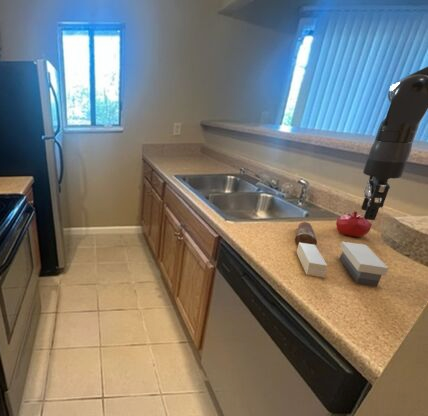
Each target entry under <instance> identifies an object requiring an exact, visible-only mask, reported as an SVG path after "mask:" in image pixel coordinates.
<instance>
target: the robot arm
mask: <svg viewBox="0 0 428 416" xmlns="http://www.w3.org/2000/svg"><path fill="white" fill-rule="evenodd" d="M387 99H388V101H389V103H390V104H389V106H388V110H387V112H386V116H385V117H384V119H382V121H381V122H380V124H379V126H378V128H377V132H376V135H375V138H374V141H373V143H372V145H371V147H370V150H369V153H368V156H367V159H366V162H365V165H364V168H363V171H362V173H363V174H364V175H365V176H369V178H368V180H367V182H366V186H365V189H364V192H363V193H364V195H363V196H364V198H363V202H362V204H361V207H360V209H361V210H362V211H365V213H364V214H363V215H364V216H363V217H364V218H365V219H367V220H368V221H375V220H376V218H377V215H378V213H379V209H381V208H383V207H384V204H385V201H386V199H387V195H388V193H389V190H390V189H391V185H390V184H389V179H400V178H401V177H402V176H403V174H404V171H405V168H406V166H407V163H408V161H409V158H410V155H411V153H412V148H413V143H414V141H415V138H416V136H417V132H418V131H419V130H418V129H419V126H420V123H421V121H422V119H423V118H424V116H425V115H426V113H427V111H428V66H426V67H424V68H421V69H419V70H417V71H415V72H413V73H411V74H409V75H407V76H405V77H402V78H400V79H399V80H398V81H396V82H394V84H392V85H391V86H390V88H389V90H388V91H387Z"/></svg>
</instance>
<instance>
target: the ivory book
mask: <svg viewBox="0 0 428 416" xmlns="http://www.w3.org/2000/svg"><path fill="white" fill-rule="evenodd" d="M339 249H340V250H341V252H343V253H344V254H345V255H346V256H347V258H348V259H349V260H350V262H351V263H352V264H353V265H354V267H355V268H356V269H357V271H361V272H367V273H373V274H379V275H382V276H386V275H387V273H388V270H389V267H388V266H387V265H386V264H385V263H384V262H383V261H382V260H381V258H380V257H378V256H377V254H375V252H374V251H373V250H371V248H369V246H368V245H367V244H362V243H357V242H356V243H355V242H348V241H341V244H340V247H339Z"/></svg>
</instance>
